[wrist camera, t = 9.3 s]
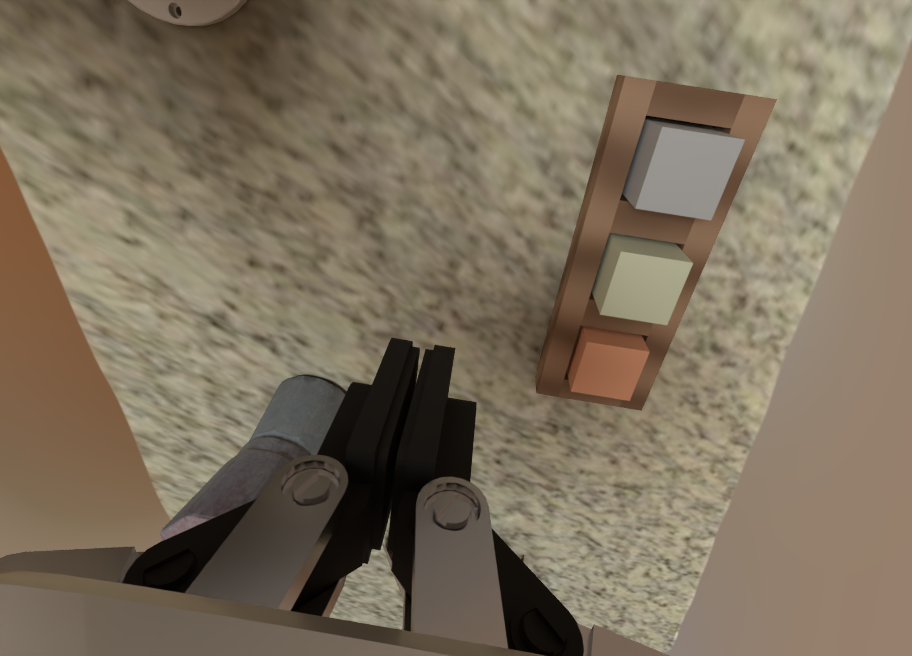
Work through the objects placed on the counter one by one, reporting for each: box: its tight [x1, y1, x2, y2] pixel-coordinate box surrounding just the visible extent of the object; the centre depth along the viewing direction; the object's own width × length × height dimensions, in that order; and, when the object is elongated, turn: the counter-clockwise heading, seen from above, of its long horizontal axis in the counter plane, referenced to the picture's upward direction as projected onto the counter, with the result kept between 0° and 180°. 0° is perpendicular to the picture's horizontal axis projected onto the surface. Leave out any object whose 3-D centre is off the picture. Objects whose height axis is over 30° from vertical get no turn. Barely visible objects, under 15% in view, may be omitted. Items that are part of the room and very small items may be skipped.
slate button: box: [622, 119, 745, 220], centre depth 31 cm, size 5×5×4 cm
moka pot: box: [161, 376, 345, 540], centre depth 40 cm, size 10×15×20 cm, turn 112°
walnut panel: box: [535, 75, 777, 410], centre depth 37 cm, size 26×10×2 cm, turn 172°
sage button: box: [592, 233, 693, 325], centre depth 35 cm, size 5×5×4 cm
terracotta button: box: [567, 325, 650, 401], centre depth 40 cm, size 5×5×4 cm
